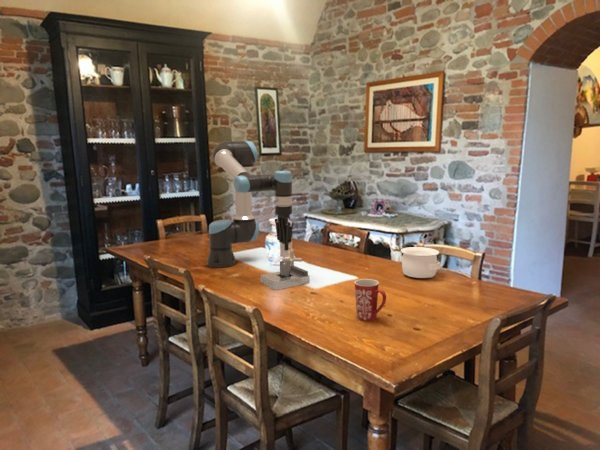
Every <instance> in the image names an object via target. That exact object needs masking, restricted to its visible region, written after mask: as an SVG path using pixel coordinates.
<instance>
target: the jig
mask: <svg viewBox="0 0 600 450" xmlns="http://www.w3.org/2000/svg"><path fill="white" fill-rule="evenodd" d="M259 275H260V283H261V284H263V285H265V286H267V287H269V288H271V289H273V290H275V291H277V290H282V289H287V288H293V287H297V286H302V285H307V284H308V285H309V284H310V283H311V282H310V281H311V280H310V275H309V272H308V270H305V269H303V268H300V267H298V266H295V265H294V266H290V277H285V278H281V277H280V271H275V272H270V273H264V274H263V273H262V274H259Z"/></svg>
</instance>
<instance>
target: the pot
mask: <svg viewBox="0 0 600 450" xmlns="http://www.w3.org/2000/svg"><path fill="white" fill-rule="evenodd" d="M400 252H401V253H402V255H399V261H398V262H399V263H401V267H402V274H403V275H405V276H407V277H410V278H416V279H429V278H431V279H432V278H433V277H435V276H436V273H437V272H438V270H441V262H440V261H438V258H437V257H438V256H439V254H440V251H439V250H437V249H435V248H430V247H422V246H413V247H412V246H409V247H403V248H401V250H400Z"/></svg>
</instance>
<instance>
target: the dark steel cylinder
mask: <svg viewBox="0 0 600 450" xmlns="http://www.w3.org/2000/svg"><path fill="white" fill-rule="evenodd" d="M279 272H280V277H281V278H285V277H290V261H282V260H281V261H279Z"/></svg>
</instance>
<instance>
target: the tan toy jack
mask: <svg viewBox="0 0 600 450" xmlns="http://www.w3.org/2000/svg"><path fill="white" fill-rule="evenodd" d="M281 261H290V266H295V262H299V263H300V262H301V263H302V262H303V258H302V257H296V255H295V251H294V249H290V251H289V257H284V258H283V257H282V259H281Z"/></svg>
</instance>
